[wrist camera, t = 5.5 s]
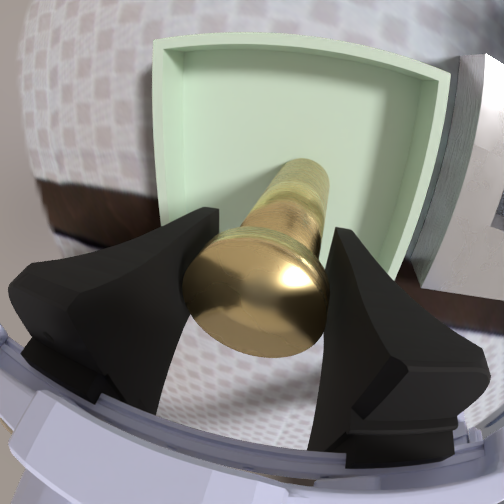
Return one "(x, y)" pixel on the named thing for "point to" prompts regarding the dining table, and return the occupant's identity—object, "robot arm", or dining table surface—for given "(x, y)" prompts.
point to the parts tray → (297, 130)
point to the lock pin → (267, 270)
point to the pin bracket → (468, 191)
